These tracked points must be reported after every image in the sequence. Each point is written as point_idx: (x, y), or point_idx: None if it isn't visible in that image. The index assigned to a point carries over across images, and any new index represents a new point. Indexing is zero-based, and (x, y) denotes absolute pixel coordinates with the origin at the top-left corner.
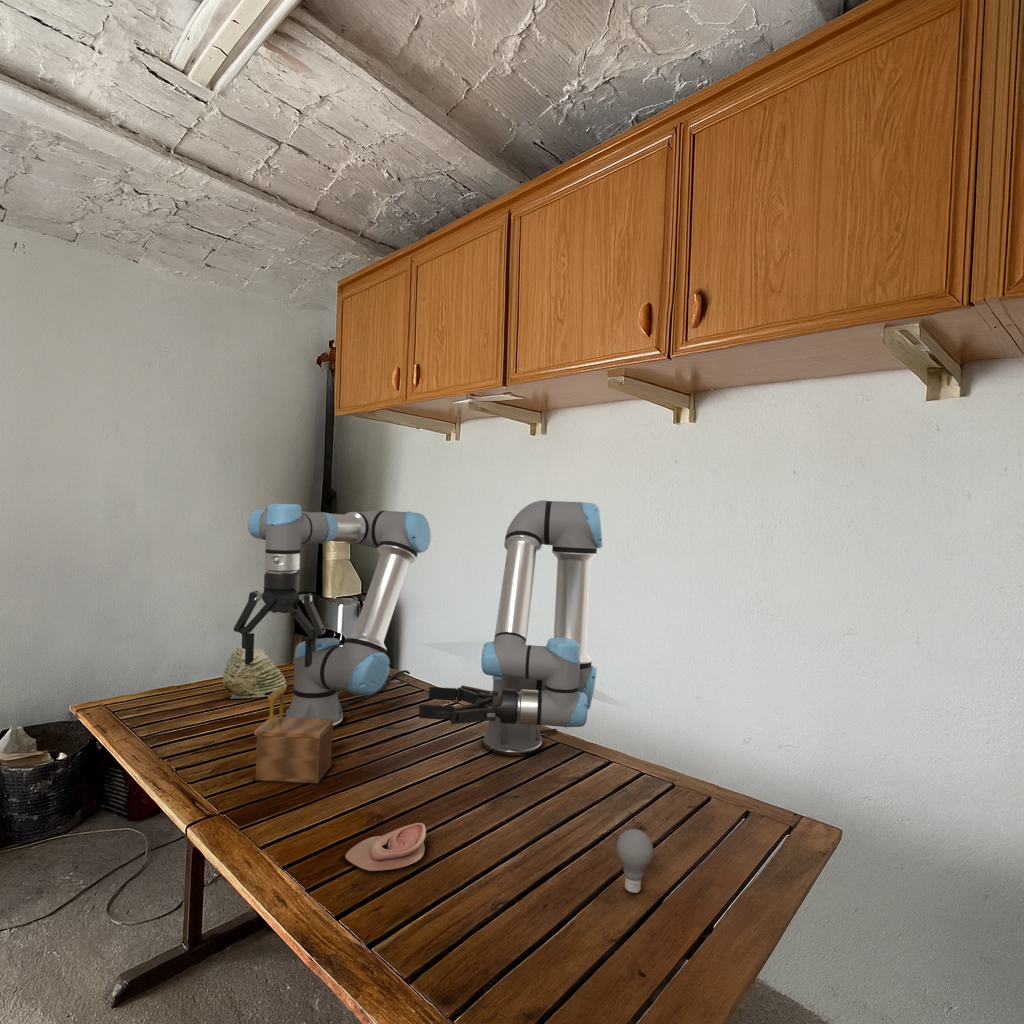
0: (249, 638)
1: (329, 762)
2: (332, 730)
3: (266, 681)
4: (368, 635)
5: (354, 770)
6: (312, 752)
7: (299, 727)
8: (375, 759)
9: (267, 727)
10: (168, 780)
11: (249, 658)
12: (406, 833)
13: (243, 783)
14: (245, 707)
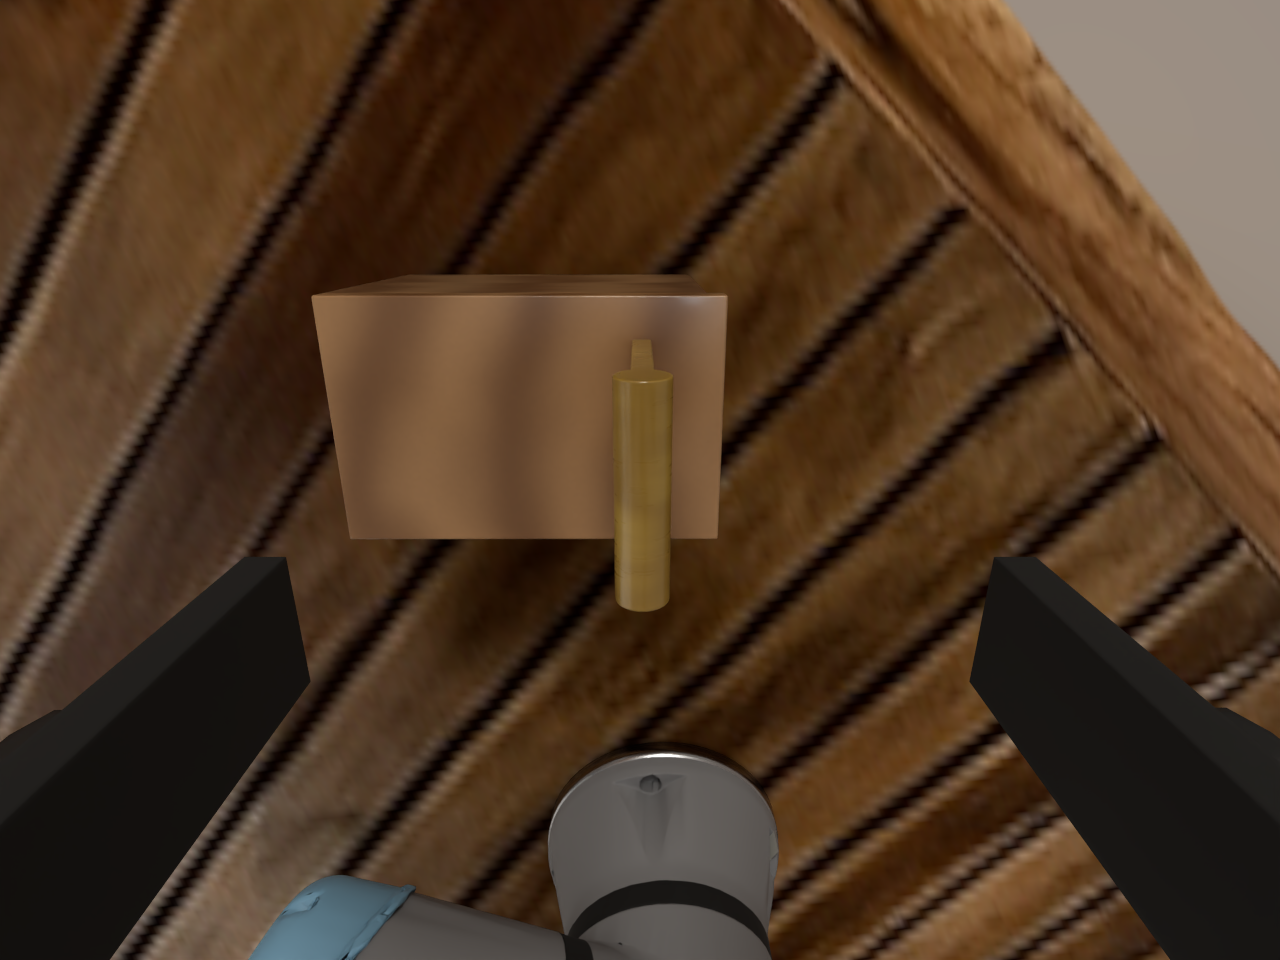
0: (1264, 835)
1: None
2: None
3: None
4: None
5: (314, 422)
6: (393, 285)
7: (481, 387)
8: (275, 534)
9: (669, 361)
10: (1060, 226)
11: (1022, 620)
12: None
13: (727, 237)
14: (984, 927)
